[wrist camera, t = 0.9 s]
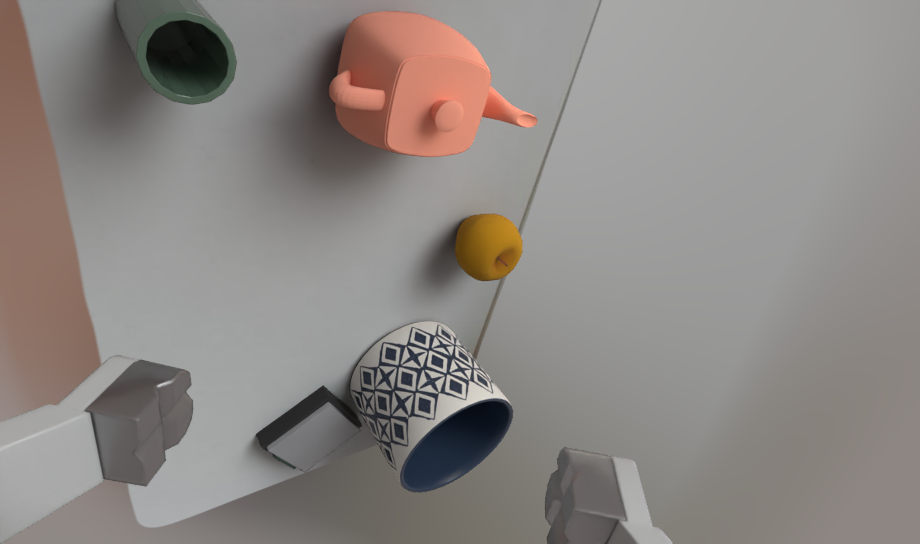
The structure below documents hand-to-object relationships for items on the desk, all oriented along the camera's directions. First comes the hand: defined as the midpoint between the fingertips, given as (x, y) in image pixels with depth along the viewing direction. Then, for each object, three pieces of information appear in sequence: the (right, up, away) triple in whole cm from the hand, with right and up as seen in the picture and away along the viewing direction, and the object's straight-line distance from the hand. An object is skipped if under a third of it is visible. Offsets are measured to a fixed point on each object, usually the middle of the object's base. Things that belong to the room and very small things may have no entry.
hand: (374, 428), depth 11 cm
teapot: (-5, +23, +40) cm, 47 cm away
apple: (+3, +9, +60) cm, 61 cm away
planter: (-7, -11, +70) cm, 71 cm away
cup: (-20, +22, +28) cm, 41 cm away
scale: (-20, -19, +66) cm, 72 cm away
